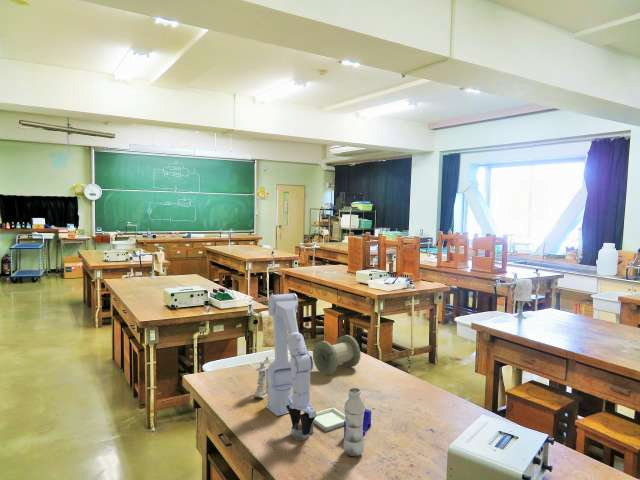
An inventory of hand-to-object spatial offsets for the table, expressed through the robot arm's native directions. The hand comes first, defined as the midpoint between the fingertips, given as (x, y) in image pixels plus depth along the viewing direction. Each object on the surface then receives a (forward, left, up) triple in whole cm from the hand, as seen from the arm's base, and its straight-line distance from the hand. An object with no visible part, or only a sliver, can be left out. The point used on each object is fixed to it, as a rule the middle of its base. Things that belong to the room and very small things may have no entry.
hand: (300, 430), depth 147 cm
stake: (0, 0, -2) cm, 2 cm away
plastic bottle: (+18, +8, -2) cm, 20 cm away
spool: (-42, +46, -2) cm, 62 cm away
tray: (-3, +14, -2) cm, 14 cm away
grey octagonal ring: (0, 0, -2) cm, 2 cm away
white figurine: (-35, +3, -2) cm, 35 cm away
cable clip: (+9, +18, -2) cm, 20 cm away
